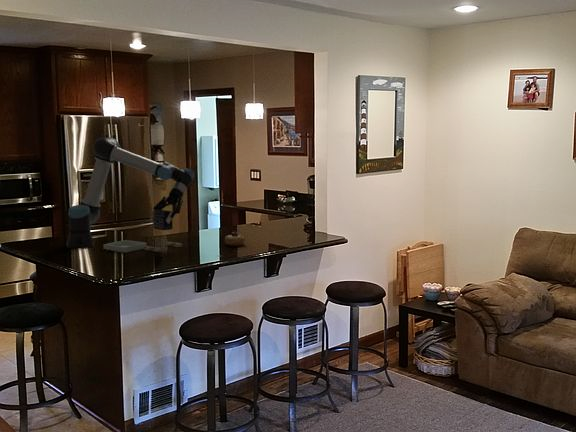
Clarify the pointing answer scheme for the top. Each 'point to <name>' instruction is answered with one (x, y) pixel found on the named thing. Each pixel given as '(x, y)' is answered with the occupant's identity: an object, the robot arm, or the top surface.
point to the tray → (125, 246)
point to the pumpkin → (234, 239)
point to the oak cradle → (161, 248)
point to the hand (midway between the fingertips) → (159, 221)
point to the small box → (161, 220)
